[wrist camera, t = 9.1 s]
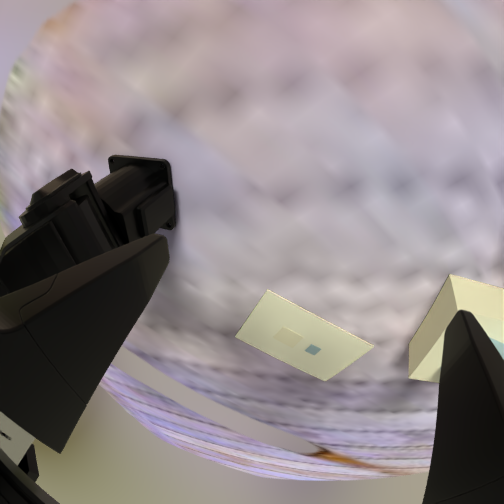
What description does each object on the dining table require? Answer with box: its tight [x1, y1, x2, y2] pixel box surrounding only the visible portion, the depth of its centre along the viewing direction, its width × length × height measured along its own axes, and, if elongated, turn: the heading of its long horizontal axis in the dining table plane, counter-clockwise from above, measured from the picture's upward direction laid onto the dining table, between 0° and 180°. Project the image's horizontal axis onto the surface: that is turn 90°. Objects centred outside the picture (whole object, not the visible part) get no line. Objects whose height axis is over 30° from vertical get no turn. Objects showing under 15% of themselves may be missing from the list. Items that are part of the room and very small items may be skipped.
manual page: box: [235, 289, 374, 381], centre depth 30 cm, size 12×9×1 cm
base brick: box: [409, 274, 504, 383], centre depth 20 cm, size 9×9×4 cm
